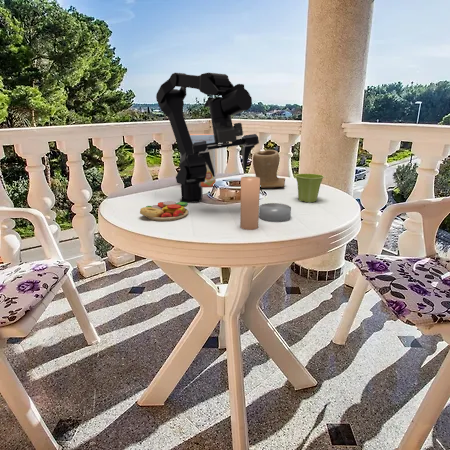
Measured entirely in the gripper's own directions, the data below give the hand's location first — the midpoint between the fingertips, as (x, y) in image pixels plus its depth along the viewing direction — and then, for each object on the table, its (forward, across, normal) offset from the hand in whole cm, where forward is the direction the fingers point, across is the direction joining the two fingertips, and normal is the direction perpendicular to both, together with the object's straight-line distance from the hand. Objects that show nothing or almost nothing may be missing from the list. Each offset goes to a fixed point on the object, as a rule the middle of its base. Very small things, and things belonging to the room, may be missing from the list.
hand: (229, 174), depth 96 cm
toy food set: (+9, -20, +2) cm, 23 cm away
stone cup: (+8, +20, +36) cm, 42 cm away
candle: (+14, +2, -11) cm, 18 cm away
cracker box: (+2, -8, +42) cm, 43 cm away
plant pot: (+13, +27, +14) cm, 33 cm away
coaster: (+14, +11, -4) cm, 18 cm away
